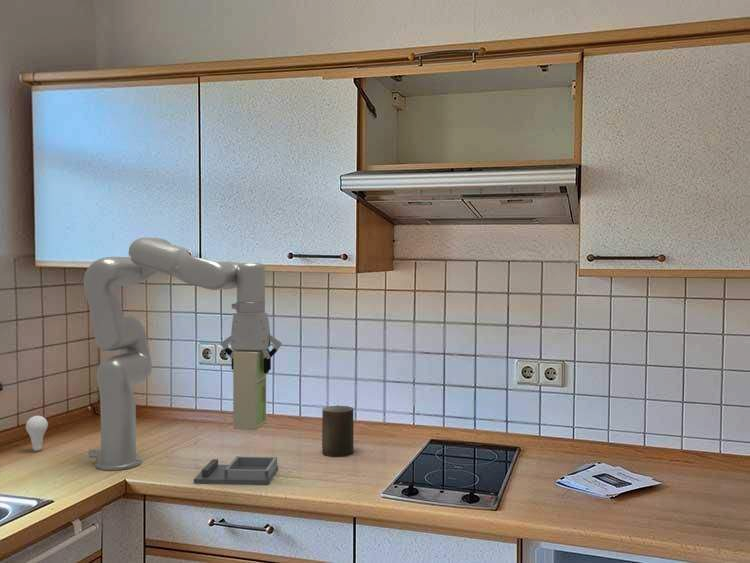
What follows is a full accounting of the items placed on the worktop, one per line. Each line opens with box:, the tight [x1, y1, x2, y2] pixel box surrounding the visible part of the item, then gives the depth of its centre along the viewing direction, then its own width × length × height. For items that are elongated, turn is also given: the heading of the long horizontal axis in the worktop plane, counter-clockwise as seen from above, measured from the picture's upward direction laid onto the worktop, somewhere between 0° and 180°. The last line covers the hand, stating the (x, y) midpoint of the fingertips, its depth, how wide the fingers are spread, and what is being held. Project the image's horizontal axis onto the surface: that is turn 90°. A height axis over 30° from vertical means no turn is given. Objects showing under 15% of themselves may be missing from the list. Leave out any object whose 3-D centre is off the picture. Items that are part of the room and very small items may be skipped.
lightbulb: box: [25, 415, 49, 452], centre depth 215 cm, size 6×6×11 cm
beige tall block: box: [232, 350, 267, 431], centre depth 189 cm, size 8×7×21 cm
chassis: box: [193, 455, 279, 486], centre depth 190 cm, size 20×13×4 cm, turn 87°
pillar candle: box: [321, 404, 355, 458], centre depth 214 cm, size 10×10×15 cm
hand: (251, 372), depth 189 cm, fingers closed on beige tall block, 7 cm apart
